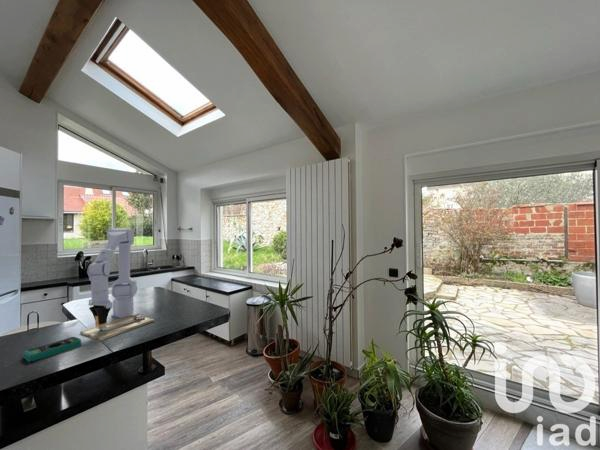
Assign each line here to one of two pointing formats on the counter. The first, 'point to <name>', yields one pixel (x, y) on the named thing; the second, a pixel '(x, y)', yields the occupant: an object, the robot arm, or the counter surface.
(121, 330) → the hole gauge board
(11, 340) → the counter surface
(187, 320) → the counter surface
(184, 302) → the counter surface
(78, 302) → the counter surface
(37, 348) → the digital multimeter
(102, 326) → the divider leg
